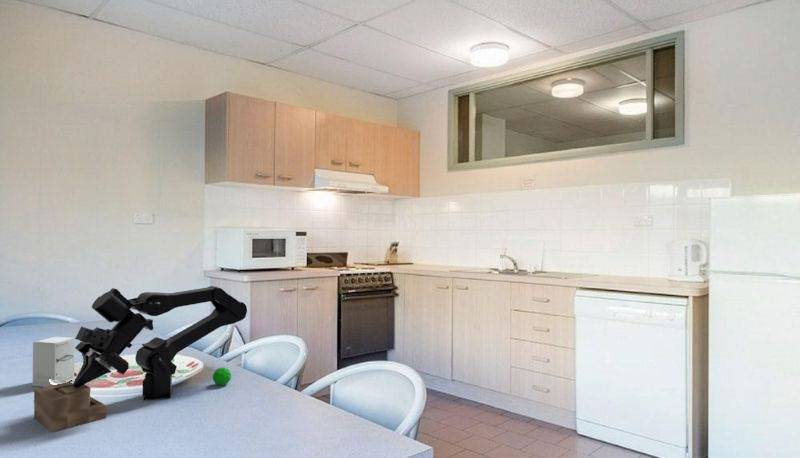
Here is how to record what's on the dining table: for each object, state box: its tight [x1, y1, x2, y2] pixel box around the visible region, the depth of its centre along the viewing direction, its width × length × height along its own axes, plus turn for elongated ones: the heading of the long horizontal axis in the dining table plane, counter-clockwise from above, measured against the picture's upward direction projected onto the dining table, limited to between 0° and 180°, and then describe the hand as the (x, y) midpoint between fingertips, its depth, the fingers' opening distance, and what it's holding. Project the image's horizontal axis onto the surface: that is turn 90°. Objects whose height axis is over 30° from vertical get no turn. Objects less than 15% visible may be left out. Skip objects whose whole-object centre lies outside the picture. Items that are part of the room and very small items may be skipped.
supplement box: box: [32, 336, 75, 388], centre depth 151 cm, size 7×7×13 cm
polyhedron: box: [212, 367, 232, 387], centre depth 151 cm, size 5×5×5 cm
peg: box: [59, 384, 91, 406], centre depth 125 cm, size 5×5×7 cm
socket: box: [33, 381, 107, 433], centre depth 125 cm, size 11×12×7 cm
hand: (74, 386), depth 125 cm, fingers closed, pressing on peg
